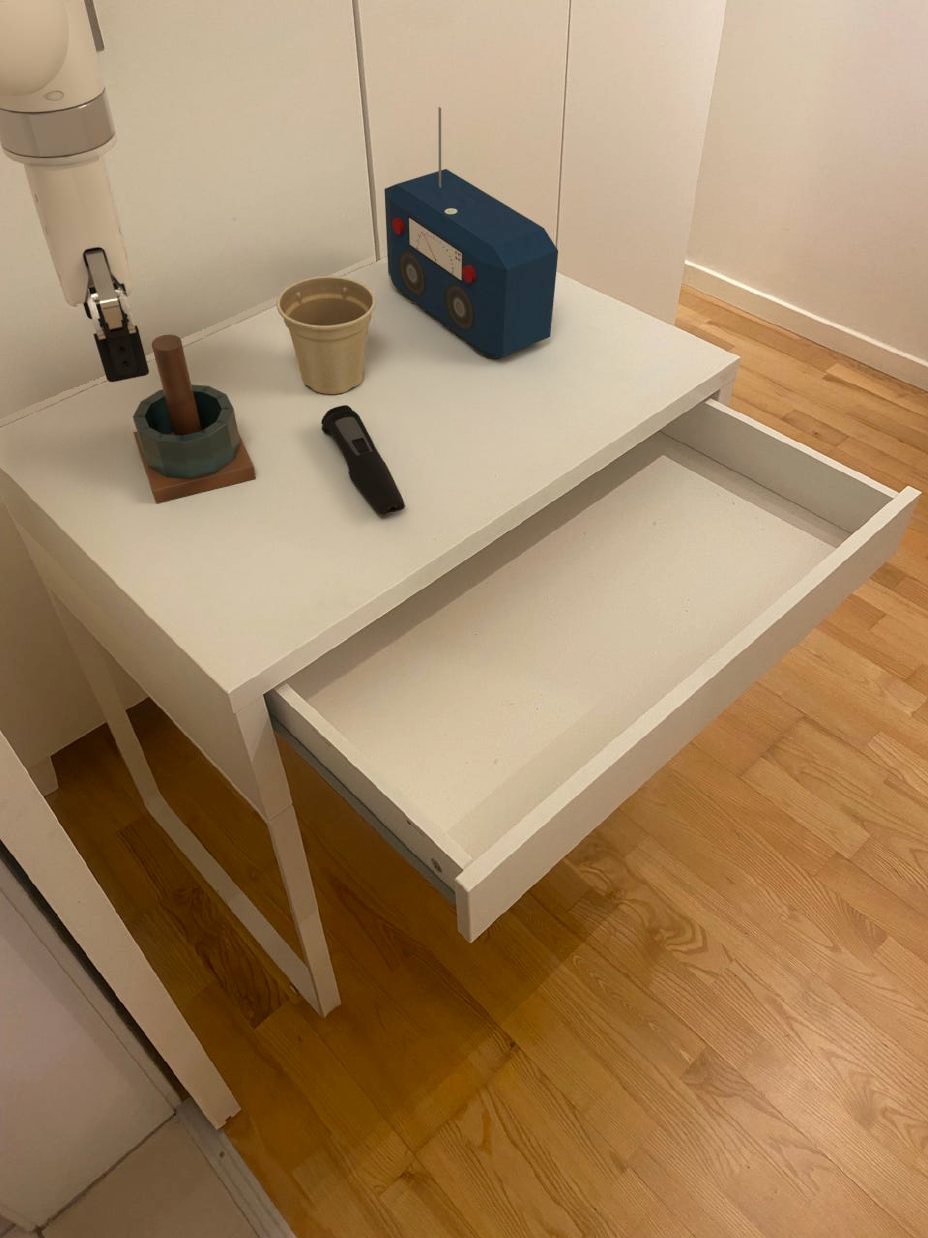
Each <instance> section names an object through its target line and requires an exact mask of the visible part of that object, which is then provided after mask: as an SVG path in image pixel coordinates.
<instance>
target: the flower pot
mask: <svg viewBox="0 0 928 1238" xmlns="http://www.w3.org/2000/svg"><path fill="white" fill-rule="evenodd" d="M376 307H377V298H376V294H375V293H374V291H373V290H372V289H371V288H370V287H369V286H367V285H366V284H365V283H363V282H361V281H359V280H356V279H354V278H350V277H346V276H339V275H321V276H313V277H309V278H304V279H300V280H297V281H295V282H292V283H291V284H289V285H288V286H286V287H285V288H283V289H282V291H280V293H279V294H278V296H277V298H276V309H277V312H278V314H279V315H280V316H281V318H283V323H284V324H285V326H286V327H287V329H288V331H289V335H290V338H291V343H292V345H293V350H294V352H295V357H296V360H297V363H298V368H299V371H300V375H301V379H302V382H303V384H304V385H305V386H308V387H309V388H311V389H312V390H313V391H314V392H316V393H319V394H320V393H321V394H325V395H327V394H328V395H338V394H343V393H346V392H348V391H349V390H351V389H352V388H355V387H358V386H359V385H360V384H361V383H362V382H363V379H364V376H365V373H364V372H365V365H366V364H365V363H366V351H367V342H368V341H367V340H368V334H369V333H368V332H369V324H370V323H371V320H372V315H373V313H374V311H375V309H376Z"/></svg>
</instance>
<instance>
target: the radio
mask: <svg viewBox="0 0 928 1238" xmlns="http://www.w3.org/2000/svg"><path fill="white" fill-rule="evenodd" d="M437 109H438V110H437V111H438V170H437V171H434V172H431V173H428V174H425V175H421V176H418V177H415V178H412V179H408V180H405V181H402V182H398V183H395V184H392V185H390V186H388V187H385V188H384V189H383V190H384V209H385V210H384V212H385V232H386V252H387V253H386V255H387V256H386V257H387V274H388V275H389V278H390V281H391V282H392V285H394V287H395V288H396V289H397V290H398V292H399V293H401V294H402V295H403V296H404V297H406V298H408V299H409V300H410V301H411V302H412V303H414V304H415V305H416V306H417V307H419V308H421V309H422V310H424V311H425V312H426V313H427V314H428V315H429V316H432V317H433V318H434V319H435V320H437V321H438V322H439V323H441V325H443V326H444V327H445V328H447V329H448V330H450V331H451V332H453V333H454V334H455V335H456V336H458V337H459V338H460V339H462V340H463V341H464V342H466V343H467V344H468V345H470V346H471V347H472V348H474V349H475V350H476V351H478V352H479V353H480V354H482V355H483V356H484V357H486V358H487V359H495V358H496V359H497V358H504V357H506V356H508V355H511V354H513V353H515V352H517V351H520V350H523V349H525V348H527V347H530V346H532V345H535V344H537V343H539V342H541V341H544V340H546V339H548V338H551V331H552V322H553V310H554V303H555V302H554V301H555V290H556V288H555V287H556V280H557V269H558V260H559V259H558V258H559V250H558V248H557V246H556V245H555V243H554V241H553V240H552V239H551V237H550V235H549V234H548V232H547V230H546V229H545V227H543V226H542V225H540V224H538V223H536V222H535V221H534V220H532V219H530V218H528V217H526V216H525V215H523V214H521V213H520V212H518V211H517V210H515V209H513V208H512V207H510V206H509V205H507V204H505V203H504V202H502V201H500V200H498V199H497V198H495V197H494V196H493V195H490V194H489V193H487V192H486V191H483V190H482V189H480V188H479V187H477V186H476V185H474V184H472V183H471V182H469V181H467V180H466V179H464V178H463V177H460V176H459V175H458V174H456V173H454V172H452V171H450V170H449V169H447V168H443V169H442V107H440V106H438V108H437Z"/></svg>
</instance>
